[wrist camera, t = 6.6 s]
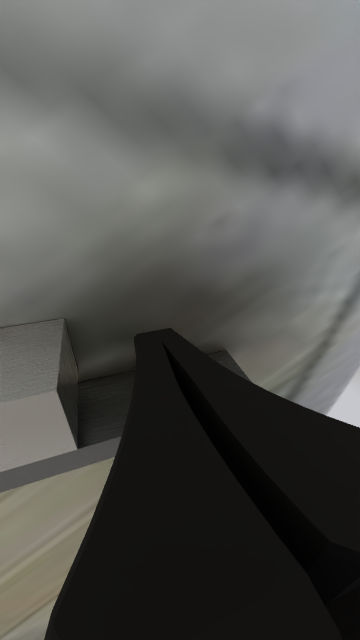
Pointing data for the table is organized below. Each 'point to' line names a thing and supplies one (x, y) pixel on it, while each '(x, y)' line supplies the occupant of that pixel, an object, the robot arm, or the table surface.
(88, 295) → the table surface
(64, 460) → the bracket
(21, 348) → the bar
